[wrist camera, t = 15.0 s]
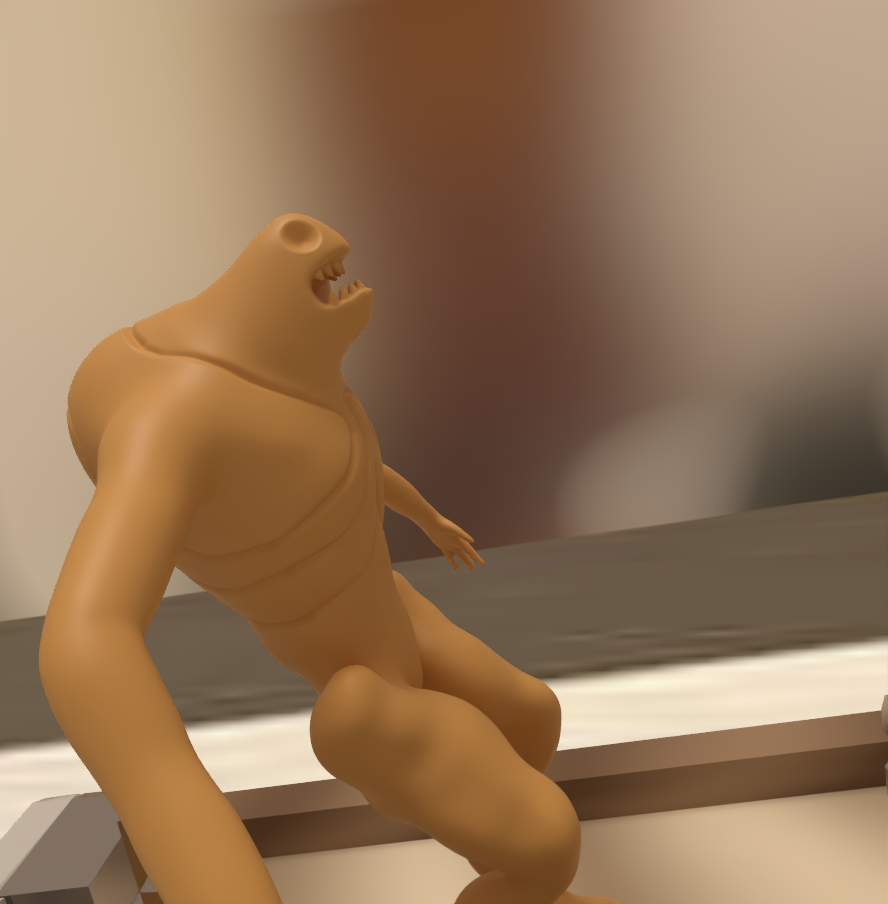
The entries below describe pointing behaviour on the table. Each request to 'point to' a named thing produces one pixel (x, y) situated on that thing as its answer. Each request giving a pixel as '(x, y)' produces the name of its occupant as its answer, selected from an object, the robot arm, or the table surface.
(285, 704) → the table surface
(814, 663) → the table surface
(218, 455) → the figurine
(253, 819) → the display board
